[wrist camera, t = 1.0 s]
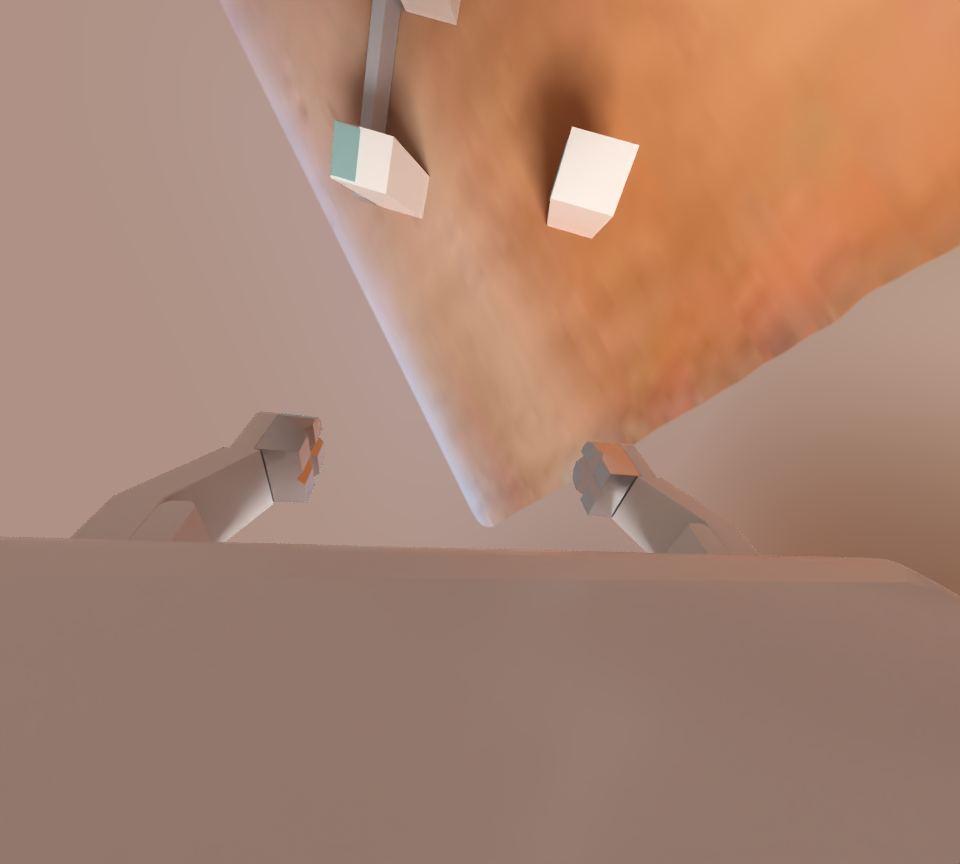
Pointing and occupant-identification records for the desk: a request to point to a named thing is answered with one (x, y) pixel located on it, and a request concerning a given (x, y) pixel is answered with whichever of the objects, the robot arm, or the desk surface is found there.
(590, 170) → the block
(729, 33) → the desk surface
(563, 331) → the desk surface
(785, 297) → the desk surface
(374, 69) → the din mount
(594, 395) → the desk surface
